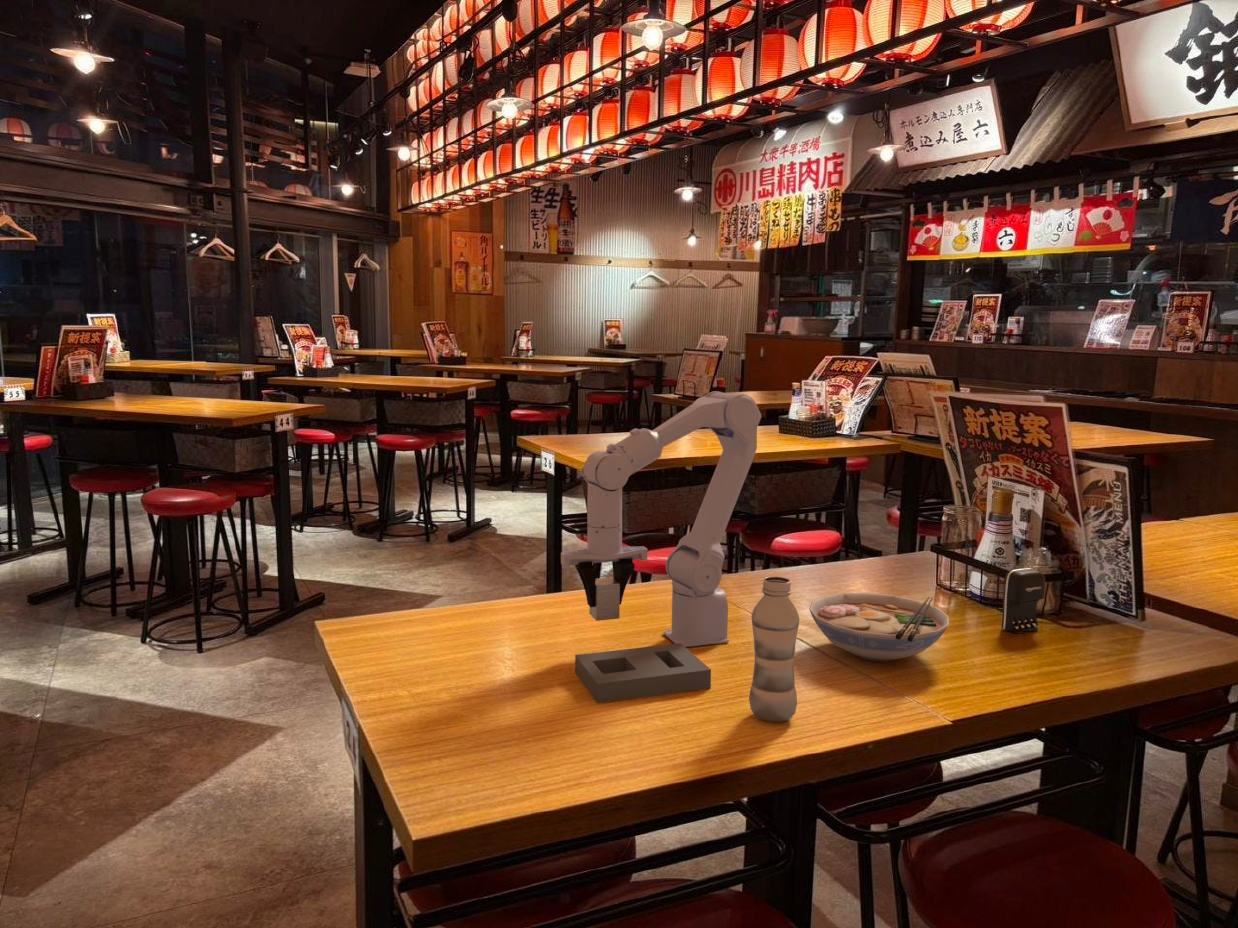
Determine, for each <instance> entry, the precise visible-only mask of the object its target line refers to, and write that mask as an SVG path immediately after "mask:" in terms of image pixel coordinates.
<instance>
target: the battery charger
mask: <svg viewBox="0 0 1238 928" xmlns="http://www.w3.org/2000/svg"><path fill="white" fill-rule="evenodd" d="M1003 583H1004V585H1003V595H1002V597H1003V598H1002V617H1001V629H1002V630H1004V631H1008V632H1010V633H1014V634H1021V633H1029V632H1035V631H1037V630H1038V629H1039V623H1038V620H1037V608H1038V602H1039V601H1040V600H1044V599H1045V596H1046V594H1045V593H1046V577H1045V575H1044V574H1043V572H1041V571H1039V570H1036V569H1034V568H1032V567H1031V568H1030V567H1025V568H1015V569H1011V570H1008V571H1007V573H1006V575H1005V577H1004V582H1003Z"/></svg>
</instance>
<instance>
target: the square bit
mask: <svg viewBox="0 0 1238 928" xmlns="http://www.w3.org/2000/svg"><path fill="white" fill-rule="evenodd" d="M620 605H621V604H620V583H618V582H617V581H616V580H615V579H614V577H612V576H611V577H599V578H598V577H596V581H595V607H590V606H589V605H588V606H589V611H588V613H589V615H590V616H591V617H592V618H593V619H594V620H595V621H596V622H598V621H599V622H600V621H609V620H618V619H620Z"/></svg>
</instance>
